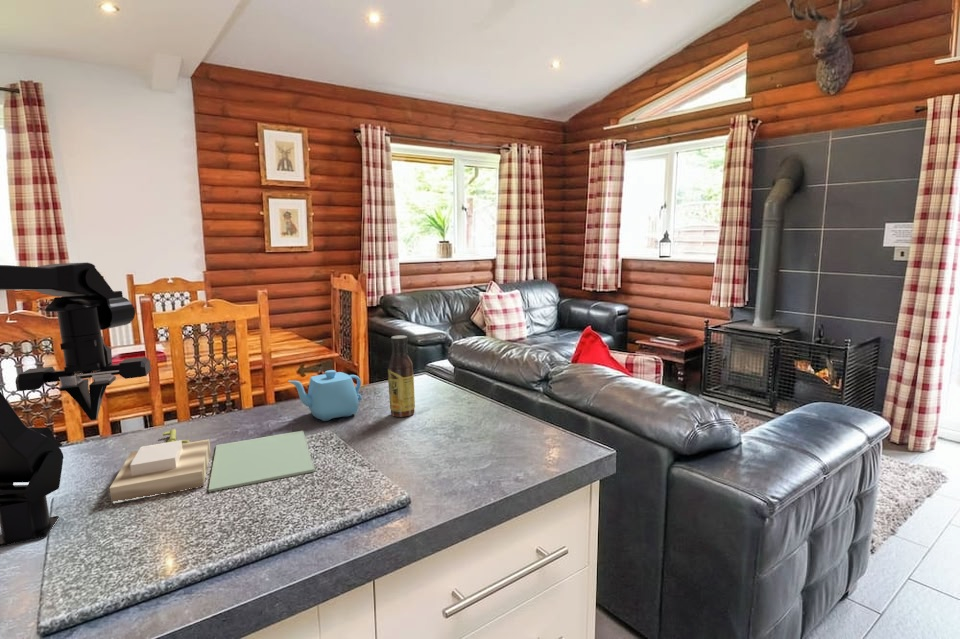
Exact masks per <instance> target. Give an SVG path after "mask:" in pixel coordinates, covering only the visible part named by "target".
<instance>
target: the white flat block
mask: <svg viewBox="0 0 960 639" xmlns="http://www.w3.org/2000/svg"><path fill="white" fill-rule="evenodd" d="M178 440H179V441H173V442H168V441H167V443H166V442H161V443H156V444H150V445H149V444H148V445H143V446H142V445H141V446H140V448H139V449H138V450H137V451H138V452H137V454H136V456H135V458H134V459H133V461H132V463H131V465H130V468H131V475H132V476H134V475H140V474H146V473H151V472H157V471H162V470H168V469H174V468H176V467H177V465H178V462H179V459H180V456H181V453H182V450H183V448H182V440H183V439H178Z"/></svg>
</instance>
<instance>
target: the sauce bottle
mask: <svg viewBox="0 0 960 639" xmlns="http://www.w3.org/2000/svg"><path fill="white" fill-rule="evenodd" d="M408 341H409V340H408V336H407V335H400V334H399V335H393V336H391V337H390V343H391V356H390V359H389V363H388V367H387V379H388V380H387V381H388V396H389V409H390V415H391V416H392V417H395V418H405V417H410V416H412V415H414V414H415V412H416V411H415V407H416V401H415V398H416V397H415V377H414V375H415V374H414V369H413V368H414V366H413V361H412V359H411V358H410V355H408V353H409V352H408Z"/></svg>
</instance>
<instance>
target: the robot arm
mask: <svg viewBox="0 0 960 639" xmlns="http://www.w3.org/2000/svg"><path fill="white" fill-rule="evenodd" d="M0 291H34V292H38V293H39V294H42V295H46V296H47V295H48V296H53V297H54V298H53V299H52V302H50V303H49V304H48V305H47V306H46V307H45V308H44V311H45V312H46V313H56V314H57V319H58V326H59V332H60V333H59V334H60V337H61V338H60V339H61V340H60V341H61V343H60V350H62V353H63V359H64V364H65V366H64V367H63V369H62V370H55V368H54V366H46V367H45V366H44V367H36V368H34V367H33V368H29V369H26V370H24V371H23V372H21V373H19V374H18V375H17V376H16V377H15V380H14V381H15V386H16V391H17V392H24V391H32V390H39V389H41V388H42V387H43V386H44V385H45V384H47V383H55V382H60V387H59V388H58V389H59V391H60V392H66V393H67V394H68V395H69V396H70V397H72V399H73V400H74V401H75V402H76V403H77V404H78V405H79V406H80V408H81V409H82V411H83V412H84V413H85V415H86V416H87V417H88V420H90V421H96V420H97V419H98V418H99V413H100V409H101V405H102V402H103V401H102V400H103V397H104V394H105V392H106V389H107V387H108V386H110V385H112V383H113V382H114V381H116V380H117V378H116V377H117V376H116V375H119V376H120V377H122V378H123V379H125V380H126V379H136V378H142V377H143V378H144V377H147V376H148V375H149V374H150V372H151V371H152V368H151V367H152V366H151V360H150V359H149V358H148V357H146V356H139V357H131V358H124V359H123V360H122V361H120V362H119V364H117V363H116V364H113V359H112V357H113V356H112V355H113V354H112V348H111V347H110V346H108V345H106V344H105V342H104V336H102V330H109V329H112V328H113V329H114V328H117V327H121V326H122V327H123V326H126V325H129V324H130V323H132V322H133V321H134V319H135V316H136V309H135V307H134V306H133V303H132V302H131V301H130V300H129V299H127V298H126V297H124V295H123V291H121V290H115V291H114V290H113V289H112V288H111V286H110V285H109V283H108V282H107V281H106V279H105V278H104V277H103V275H102V274H101V272H100V271H99V270H98V269H97V268H96V266H95V264H93V263H91V262H88V261H87V262H67V263H52V264H51V263H50V264H46V265H39V266H27V265H26V266H25V265H6V264H4V265H3V264H0ZM90 378H91V379H92V380H93V381H92V382H91V383H90V384H89V379H90ZM62 446H63V443H62V442H59V441H58V440H57V439H56V437H55V436H54V432H53V431H52V430H51V429H50V428H49V427H47V426H42V427H41V426H39V427H28V426H27V425H26V424H25V423H24V421H22V419H21V418H20V416H19V415H18V414H17V412H16V411H15V409H14V408H13V407H12V405H11V404H10V402H9V401H8V400H7V399H6V398H5V396H4V394H3V393H2V392H1V391H0V531H1V534H0V547H4V546H5V547H6V546H10V545H14V544H20V543H24V542H29V541H34V540H38V539H44V538H46V537H48V535H49V534H50V533H51V531H52V530H53V528H54V527H53V525H54V524H55V522H56V521H57V519H58V518H59V519H60V517H59V515H54V516H50V511H49V506H48V499H47V496H48V495H50V494H52V493H54V492H55V491H57V490H59V489H60V484H61V477H62V471H63V470H62V469H63V463H64V453H63V451H62V449H61V448H60V447H62ZM14 483H15V484H14ZM16 483H28V484H16ZM57 522H58V521H57ZM55 525H56V524H55ZM55 525H54V526H55ZM52 527H53V528H52ZM51 529H52V530H51ZM50 530H51V531H50Z"/></svg>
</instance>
